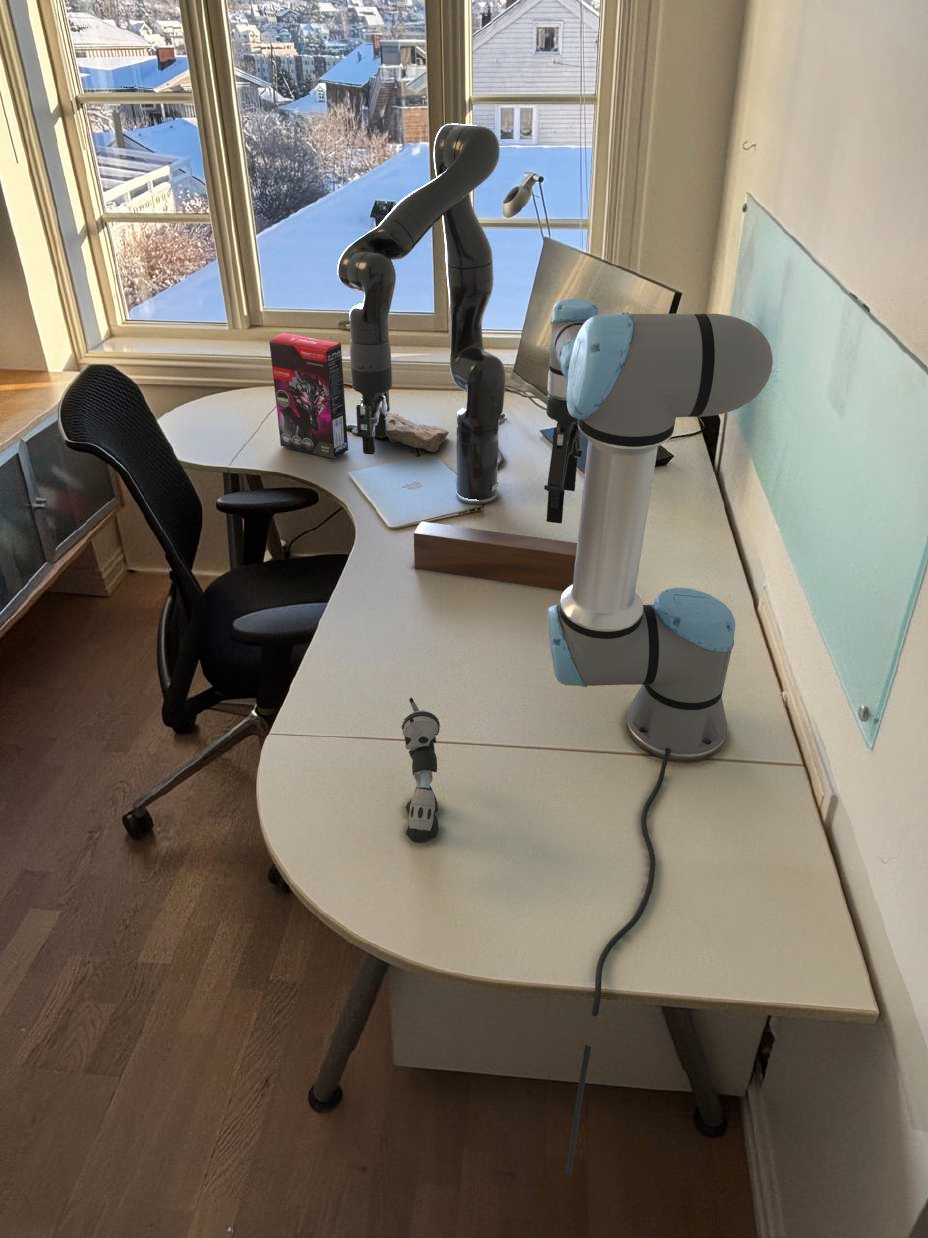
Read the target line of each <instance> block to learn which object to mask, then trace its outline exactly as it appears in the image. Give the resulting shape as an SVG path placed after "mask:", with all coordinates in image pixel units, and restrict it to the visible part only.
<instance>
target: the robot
mask: <svg viewBox="0 0 928 1238" xmlns="http://www.w3.org/2000/svg"><path fill="white" fill-rule="evenodd" d="M408 700H409V703H410V705H411V708H412V711H413V712H411V713H409V714H408V715H407V716H406V717H405V718H403V721H402V723H401V727H400V728H401V731H402V732H401V733H402V735H403V737H404V743H405V744H404V745H405V746H404V747H405V749H406V750H408V754H409V756H410V758H411V761H412V762H411V763H412V764H411V771H412V776H413V778H414V779H415V782H416V787H415V789H414V791H413V792H414V793H413V795H412V797H411V799H410V800H409V801H408V802H407V803H406V805H405V809H406V811H407V814H408V827H407V829H406V831H405V835H406V836H407V837H408V839H410V840H411V841H412V842H416V843H425V842H428V841H430V840H432V839H435V838H437V835H438V832H439V830H440V828H439V820H438V817H437V815H436V813H438V811H439V808H438V799H437V797H436V794H435V792H434V789H433V788H432V785H431V783H432V782H433V773H437V772H438V757H437V754H436V752H435V744H437V737H436V736H438V735H439V733H440V730H441V729H440V728H441V724H440V721H439V718H438V717H437V716H436V715H435V714H433V713H432V712H430V711H428V710H424V709H423V710H420V709H419V707H418V705H417V704H416V702H415V700H414V698H413V697H409V699H408Z"/></svg>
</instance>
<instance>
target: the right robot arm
mask: <svg viewBox="0 0 928 1238" xmlns="http://www.w3.org/2000/svg"><path fill="white" fill-rule="evenodd" d="M550 325H551V328H550V329H551V331H550V349H549V352H550V353H549V366H548V374H547V387H546V388H547V392H548V393H547V396H546V409H545V410H546V416H547V417H548V418H549V419H551V420H553V421H555V422H556V427H555V426H554V429H553V434H552V448H551V455H550V463H549V469H548V475H547V476H548V477H547V484H544V485H543V489H544V490H545V491H546V492H547V505H546V506H547V507H546V523H554V524H561V525H562V523H563V518H564V517H563V515H564V504H565V503H564V502H565V500H564V499H565V491H569V492H575V490H576V480H577V469H578V458H582V454H583V450H580V448H581V443H580V442H581V434H582V435H583V436H584V437H585V438H586V439H587V448H586V457H585V466H584V476H583V486H582V494H581V503H580V504H581V505H580V512H579V513H580V514H579V523H578V531H577V532H578V533H577V542H576V543H577V551H576V560H575V570H574V579H573V585H571V586H569V587H568V588H567V589H566V590H565V591H564V590H563V592H562V593H561V597H560V602H559V604H554V605H551V606H549V607H548V608H547V614H546V615H547V628H548V629H547V630H548V636H549V646H550V647H549V648H550V654H551V662H552V668H553V673H554V677H555V678H556V680H557V681H558V682H559V683H560V684H562V685H564V686H574V687H575V686H576V687H583V688H587V687H596V686H599V687H600V686H636V685H638V686H640V688H639V689H638V691H637V692H636V694H635V695H634V697H633V699H632V701H631V702H630V704H629V706H628V708H627V711H626V719H625V728H626V732H627V734H628V736H629V738H630V739H631V741H632V742H634V744H636V745H637V746H638V747H639V748H640V749H641V750H643V751H645V752H646V753H648V754H650V755H651V756H654V757H656V758H659V759H662V761H661V767H660V770H659V775H658V777H657V778H658V779H657V781H656V784H655V785H654V788H653V790H652V792H651V793H650V794H649V797H648V798H647V800H646V802H645V803H644V806H643V809H642V812H641V817H640V826H641V832H642V836H643V839H644V842H645V845H646V849H647V853H648V858H649V870H648V879H647V884H646V889H645V892H644V894H643V897H642V900H641V902H640V904H639V906H638V908H637V910H636V912H635V913H634V915H633V916H632V918H630V920H629V921H628V922H627V923H626V924H625V925H624V926H623V927H622V928H621V929H620V930H619V931H618V932H616V934H615V935H613V936H612V938H610V940H609V941H608V942H607V943H606V945H605V946H604V948H603V949H602V951H601V954H600V956H599V958H598V961H597V965H596V969H595V980H594V981H595V982H594V995H593V1002H592V1008H591V1015H592V1016H593V1017H598V1015H599V1009H600V1004H601V996H602V982H603V969H604V965H605V962H606V959H607V958H608V955H609V953H610V952H611V950H612V949H613V947H614V946H615V945H617V943H618V942H619V941H620V940H621V939H622V938H623V937H624V936H625V935H626V934H627V933H629V932H630V930H631V929H632V928H634V926H635V925H636V924H637V922H638V921H639V920H640V918H641V917H642V915H643V913H644V911H645V908H646V907H647V905H648V902H649V900H650V897H651V895H652V894H651V893H652V891H653V887H654V883H655V874H656V856H655V851H654V847H653V845H652V844H653V843H652V841H651V838H650V835H649V831H648V826H647V818H648V812H649V809H650V807H651V805H652V803H653V801H654V800H655V798H656V797H657V795H658V793H659V791H660V789H661V787H662V784H663V781H664V778H665V774H666V770H667V765H668V762H669V761H670V762H675V763H694V762H700V761H703V760H706V759H709V758H711V757H714V755H716V754H718V752H720V751H721V750H722V748H723V747H724V744H725V743H726V740H727V739H726V738H727V733H728V721H727V716H726V712H725V708H724V707H725V706H724V701H723V692H724V686H725V682H726V678H727V672H728V668H729V664H730V659H731V654H732V651H733V649H734V646H735V631H736V620H735V617H734V614H733V612H732V611H731V609H730V608H729V607H728V606H727V605H726V604H725V603H724V602H723V601H721V600H720V599H718V598H716V597H715V596H713V595H711V594H709V593H706V592H704V591H701V590H698V589H695V588H689V587H688V588H687V587H672V588H670V587H669V588H667V589H665V590H663V591H660V592H659V593H658V595H657V596H656V597H655V599H654V600H653V604H644V603H643V600H642V598H641V596H640V595H639V594H638V593H637V592H636V589H637V583H638V576H639V571H640V563H641V557H642V551H643V545H644V544H643V543H644V537H645V531H646V526H647V519H648V511H649V506H650V499H651V494H652V487H653V481H654V474H655V469H656V468H655V467H656V461H657V455H658V449H659V448H658V447H660V446H662V445H663V444H665V443H666V442H668V441H669V440H670V439H671V438H672V436H673V434H674V431H675V424H676V420H677V418H697V417H700V418H701V417H713V416H719V415H724V414H727V413H730V412H733V411H735V410H738V409H741V408H742V407H744V406H745V405H747V404H749V403H751V402H752V401H753V400H754V399H755V398H757V396H759V394H760V393H761V392H762V391H763V389H764V388H765V387H766V385H767V383H769V382H768V381H769V379H770V376H771V374H772V371H773V370H772V369H773V364H774V359H773V352H772V348H771V345H770V343H769V340H768V339H767V337H766V336H765V334H764V333H763V332H762V331H761V330H760V329H759V328H758V327H756V326H755V325H753V324H752V323H750V322H748V321H746V320H745V319H743V318H738V317H736V316H731V315H728V314H721V313H705V312H704V313H629V312H628V311H622V312H618V313H612V314H611V313H610V314H599V306H598V305H597V304H596V302H594V301H591V300H588V299H583V298H567V299H562V300H559V301H557V302H556V303H555V304H554V306H553V308H552V317H551V321H550ZM583 1050H584V1051H583V1054H582V1061H581V1067H580V1073H579V1079H578V1086H577V1092H576V1098H575V1104H574V1105H575V1106H574V1112H573V1120H572V1127H571V1133H570V1142H569V1150H568V1157H567V1163H566V1171H565V1174H566V1175H567V1176H569V1177H570V1176H572V1174H573V1173H572V1172H573V1167H574V1159H575V1153H576V1147H577V1146H576V1145H577V1138H578V1131H579V1126H580V1125H579V1124H580V1117H581V1112H582V1105H583V1098H584V1093H585V1092H584V1091H585V1085H586V1080H587V1073H588V1067H589V1062H590V1055H591V1051H592V1046H590V1045H586V1044H584V1049H583Z"/></svg>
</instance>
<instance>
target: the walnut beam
mask: <svg viewBox="0 0 928 1238" xmlns="http://www.w3.org/2000/svg"><path fill="white" fill-rule="evenodd" d="M576 551H577V542H574V541H567V540H566V541H565V540H559V539H551V538H545V537H537V536H531V535H530V536H529V535H522V534H516V533H507V532H501V531H493V530H485V529H478V528H472V527H465V526H457V525H451V524H444V523H443V524H442V523H435V522H428V521H420V523H419V524H418V525H417V527H416V529H415V530H414V532H413V558H414V560H413V563H414V564H413V565H414V569H416V570H417V569H418V570H423V571H428V572H429V571H430V572H437V573H442V574H443V573H444V574H451V575H456V576H463V577H469V578H470V577H471V578H477V579H483V580H490V581H496V582H502V583H503V582H504V583H510V584H511V583H512V584H516V585H517V584H518V585H523V586H524V585H525V586H531V587H537V588H545V589H550V590H557V591H558V590H559V591H563V592H564V591H565V590H566V589H567V588H568V587H569V586H571V585H573V579H574V570H575V560H576Z"/></svg>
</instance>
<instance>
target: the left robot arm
mask: <svg viewBox="0 0 928 1238" xmlns="http://www.w3.org/2000/svg"><path fill="white" fill-rule="evenodd" d="M500 149H501V147H500V141H499V139H498V137H497V135H496V134H495V132H494V131H493V130H492V129H490V128H488V127H486V126H482V125H477V124H476V125H475V124H462V123H447V124H445V125H443V126H442V127H440V129H439V130H438V132H437V134H436V137H435V140H434V145H433V163H434V170H435V176H436V177H435V178H434V179H432V180H431V181H430V182H427V183H426V184H424V185H423V186H421V187H419V188H418V189H416V190H414V191H412V192H411V193H409V194H408V195H407V196H405V197H404V198H403V199H401V200H400V201H399V202H397V204H396V205H395V206H394V207H393V208H392V209H391V211H390V212H389V213H388V214H387V215H386V216H385V217H384V218H383V220H382V221H381V222H380V223H379V224H378V226H376V227H375V228H373V229H372V230H369V231H368V232H366V234H364V235H362V236H360V237H359V238H358V239H356V240H354V242H352V243H351V244H350V245H348V246H347V248H346V249H345V250H344V251H343V253H342V254H341V256H340V258H339V260H338V264H337V276H338V279H339V281H340V283H341V284H342V285H343V286H344V287H346V288H348V289H351V290H353V291H358V292H361V293H364V299H363V303H359V304H357V305H354V306H353V307H352V308H351V309H350V311H349V333H350V334H349V335H350V349H349V350H350V351H349V355H350V358H349V359H350V369H351V370H350V371H351V387H352V390H354V392H357V393H359V394H361V396H362V397H361V399H360V403H359V404H357V405H356V408H355V409H356V430H357V432H356V433H357V437H362V439H361V441H362V453H363V454H364V455H375V453H376V440H375V439H376V438H383V439H384V438H386V437H387V436H386V435H387V429H386V419H385V418H387V416H388V414H387V412H389V413H390V410H391V408H390V407H391V406H390V393H389V392H390V390H391V389H392V387H393V371H392V370H393V369H392V367H393V366H392V350H391V344H390V327H389V314H390V311H391V307H392V301H393V296H394V292H395V287H396V279H397V278H396V277H397V274H396V269H395V265H394V263H393V261H399V260H402V259H403V260H404V258H406V257H407V256H408V255H409V254H410V253H411V252H412V251H413V249H414V248H415V247H416V246H417V245H418V243H420V242H421V240H422V239H423V238H424V237H425V235H426V234H427V233H428V232H429V231H430V229H431V228H432V227H433V226H434V225H435V224H436V223H437V222H438V221H439V220H440V219H441V218H442V226H443V234H444V244H445V245H444V246H445V247H444V248H445V266H446V267H445V268H446V279H447V281H446V282H447V290H448V302H449V318H450V348H449V349H450V350H449V351H450V352H449V372H450V376H451V379H452V381H453V383H454V384H455V385H456V386H457V387H458V388H459V389H461V390H462V391H464V392H466V393H467V394H466V406H464V407H461V408H460V409H459V410H458V411H457V413H456V479H455V481H456V482H455V483H456V487H455V488H456V489H455V491H456V490H457V493H458V494H459V495H460V496H462V497H464V498H468V499H477V500H479V501H468V500H465V499H462V498H460V497H459V496H458V495H457V494H456V493H455V497H456V499H457V500H459V501H460V502H462V503H464V504H468V505H486V504H490V503H492V502H494V501H495V500H496V499H497V498H498V487H499V482H498V472H499V471H498V469H499V468H500V467H501V466H502V465H503V463H504V455H503V454H502V452H501V451H500V449H499V439H500V438H499V434H500V432H499V431H500V421H502V420H503V419H504V418H505V417H506V415H505V413H503V410H504V405H505V404H504V402H505V392H506V369H505V366H504V363H503V361H502V360H501V359H500V358H499V357H497V356H496V355H494V354H492V353H489V352H487V351H486V350H485V348H484V347H485V346H484V340H483V339H484V338H483V319H484V315H485V313H486V310H487V306H488V304H489V301H490V299H491V296H492V293H493V289H494V267H493V266H494V264H493V261H494V260H493V258H494V257H493V250H492V247H491V244H490V241H489V239H488V236H487V234H486V232H485V231H484V229H483V227H482V225H481V223H480V221H479V219H478V217H477V214H476V212H475V209H474V207H473V204H472V203H473V202H472V199H471V193H472V192H473V191H475V189H476V188H478V187H479V186H480V185H481V184H483V183H484V182H485V181H486V180H487V179H488V178H489V177H490V176H491V175H492V174H493V173H494V171H495V170H496V168H497V166H498V163H499V159H500V153H501V151H500ZM371 418H374V419H371ZM366 427H367V429H366ZM375 437H376V438H375Z"/></svg>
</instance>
